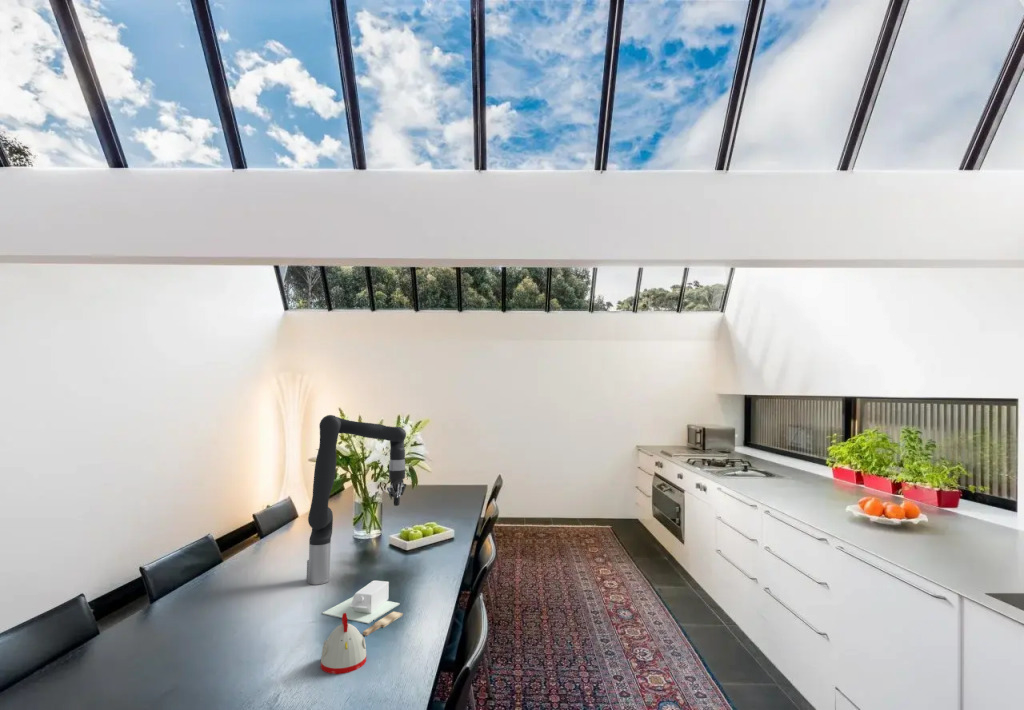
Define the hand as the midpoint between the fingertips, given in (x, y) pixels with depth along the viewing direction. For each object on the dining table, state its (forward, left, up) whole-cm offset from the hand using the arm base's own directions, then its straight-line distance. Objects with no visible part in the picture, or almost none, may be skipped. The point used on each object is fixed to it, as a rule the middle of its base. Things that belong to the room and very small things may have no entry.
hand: (396, 505), depth 254 cm
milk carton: (+13, -28, -28) cm, 41 cm away
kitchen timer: (+34, -75, -32) cm, 88 cm away
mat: (+12, -39, -32) cm, 52 cm away
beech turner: (+28, -46, -32) cm, 63 cm away
